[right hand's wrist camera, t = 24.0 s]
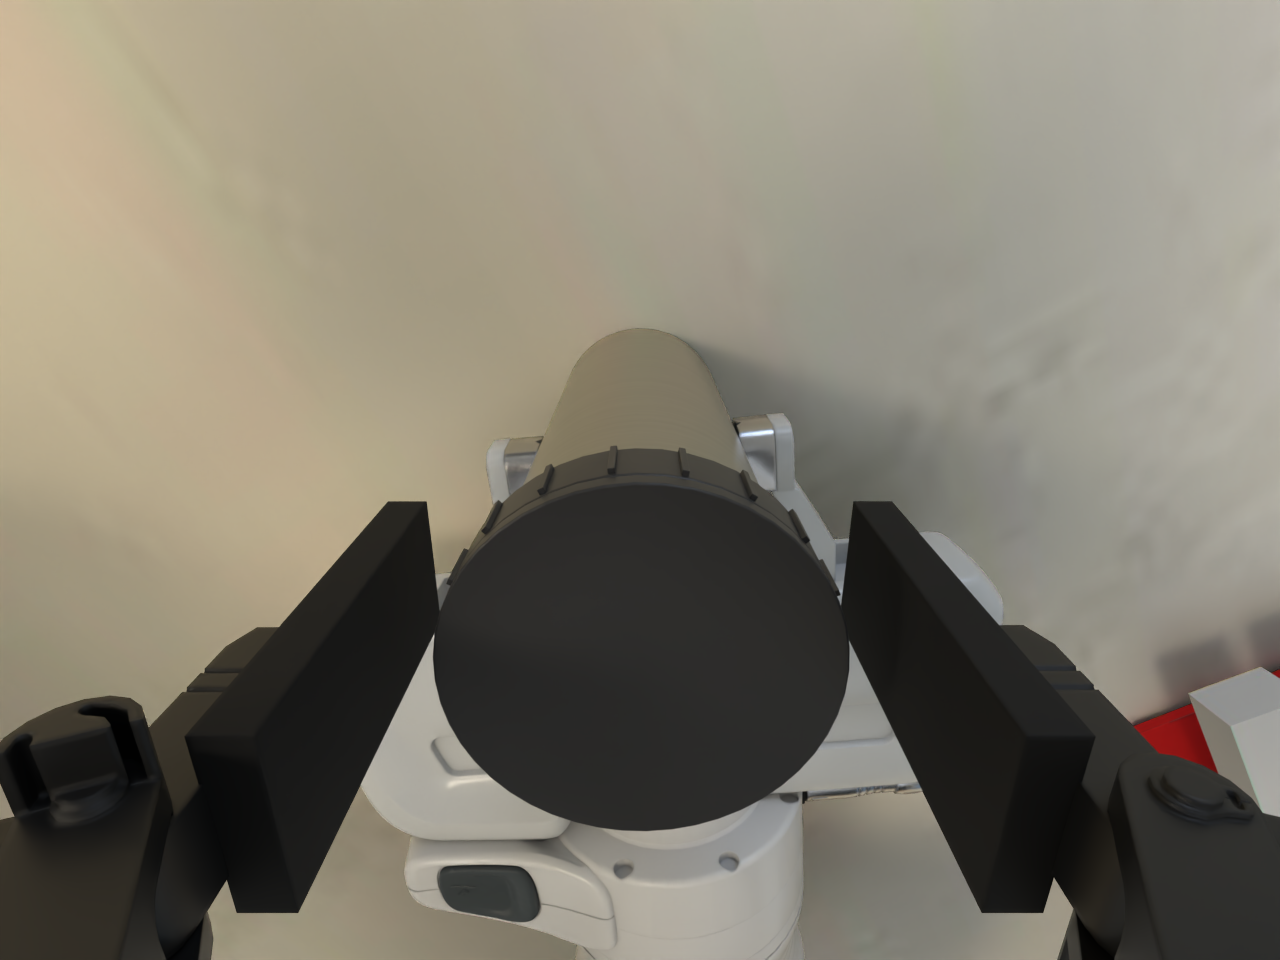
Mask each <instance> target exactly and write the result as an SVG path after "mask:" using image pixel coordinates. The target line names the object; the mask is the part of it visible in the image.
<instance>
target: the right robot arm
mask: <svg viewBox="0 0 1280 960" xmlns="http://www.w3.org/2000/svg"><path fill="white" fill-rule="evenodd" d="M841 608H842V611H843V614H844V618H845V621H846V624H847V631H848V638H849V641H850V643H851V645H852V648H853V650H854V652H855V654H856V656H857V658H858V660H859V662H860V664H861V666H862V668H863V670H864V672H865V674H866V676H867V678H868V680H869V682H870V684H871V687H872V689H873V691H874V693H875V695H876V697H877V699H878V701H879V703H880V705H881V707H882V709H883V711H884V713H885V715H886V717H887V719H888V721H889V723H890V726H891V728H892V730H893V732H894V734H895V736H896V738H897V740H898V742H899V744H900V746H901V748H902V750H903V752H904V754H905V756H906V758H907V760H908V762H909V765H910V767H911V769H912V771H913V773H914V775H915V777H916V779H917V781H918V783H919V785H920V787H921V789H922V791H923V793H924V795H925V797H926V799H927V801H928V804H929V806H930V808H931V810H932V812H933V814H934V816H935V818H936V820H937V822H938V824H939V826H940V828H941V830H942V832H943V834H944V836H945V838H946V840H947V842H948V845H949V847H950V849H951V851H952V853H953V855H954V857H955V859H956V861H957V863H958V865H959V867H960V869H961V871H962V873H963V875H964V877H965V879H966V881H967V884H968V886H969V888H970V890H971V892H972V894H973V896H974V898H975V900H976V902H977V904H978V906H979V908H980V910H981V912H982V913H1043V912H1044V908H1045V905H1046V902H1047V898H1048V895H1049V892H1050V888H1051V885H1052V882H1053V878H1055V880H1056V881H1057V883H1058V884H1059V886H1060V888H1061V889H1062V891H1063V892H1064V894H1065V896H1066V897H1067V899H1068V900H1069V902H1070V904H1071V905H1072V907H1073V908H1074V909H1073V912H1072V916H1071V919H1070V922H1069V925H1068V928H1067V931H1066V934H1065V937H1064V941H1063V944H1062V947H1061V950H1060V953H1059V956H1058V959H1057V960H1280V817H1278V816H1274V815H1269V814H1265V813H1263V812H1262V811H1261V810H1260V808H1259V807H1258V806H1257V804H1256V803H1255V801H1254V800H1253V799H1252V798H1251V797H1250V796H1249V795H1248V794H1246V793H1245V792H1244V791H1243V790H1242V789H1240V788H1239V787H1238V786H1237V785H1235V784H1234V783H1233V782H1232V781H1230V780H1229V779H1227V778H1225V777H1223V776H1221V775H1220V774H1218V773H1216V772H1214V771H1212V770H1210V769H1209V768H1207V767H1205V766H1203V765H1200V764H1198V763H1195V762H1192V761H1189V760H1186V759H1183V758H1180V757H1178V756H1174V755H1167V754H1160V753H1158V752H1157V751H1156V750H1155V749H1154V747H1153V746H1152V745H1151V744H1150V743H1149V742H1148V741H1147V740H1146V739H1145V738H1144V737H1143V736H1142V735H1141V734H1140V733H1139V732H1138V731H1137V730H1136V729H1135V728H1134V727H1133V726H1132V724H1131V723H1130V722H1129V721H1128V720H1127V719H1126V718H1125V717H1124V716H1123V715H1122V714H1121V713H1120V712H1119V711H1118V710H1117V709H1116V708H1115V707H1114V706H1113V705H1112V704H1111V703H1110V702H1109V700H1108V699H1107V698H1106V697H1105V696H1104V695H1103V694H1102V693H1101V692H1100V691H1099V690H1094V685H1093V684H1092V683H1091V682H1090V681H1089V680H1088V679H1087V678H1086V676H1085V675H1084V674H1083V673H1082V672H1081V671H1076V666H1075V665H1074V664H1073V663H1072V662H1071V661H1070V660H1069V659H1068V658H1067V657H1066V656H1065V655H1064V654H1063V652H1062V651H1061V650H1060V649H1059V648H1058V647H1057V646H1056V645H1055V644H1053V643H1052V642H1050V641H1049V640H1047V639H1045V638H1044V637H1042V636H1040V635H1039V634H1037V633H1035V632H1034V631H1032V630H1030V629H1029V628H1027V627H1025V626H1024V625H999V624H998V623H997V622H996V621H995V620H994V619H993V617H992V616H991V615H990V614H989V613H988V612H987V611H986V609H985V608H984V607H983V606H982V605H981V604H980V602H979V601H978V600H977V599H976V598H975V597H974V596H973V594H972V593H971V592H970V591H969V590H968V589H967V588H966V586H965V585H964V584H963V583H962V582H961V581H960V579H959V578H958V577H957V576H956V575H955V574H954V573H953V571H952V570H951V569H950V568H949V567H948V566H947V564H946V563H945V562H944V561H943V560H942V559H941V558H940V556H939V555H938V554H937V553H936V552H935V551H934V549H933V548H932V547H931V546H930V545H929V544H928V543H927V541H926V540H925V539H924V538H923V537H922V536H921V535H920V533H919V532H918V531H917V530H916V529H915V528H914V526H913V525H912V524H911V523H910V522H909V521H908V520H907V518H906V517H905V516H904V515H903V514H902V513H901V511H900V510H899V509H898V508H897V507H896V506H895V505H894V503H893V502H853V510H852V518H851V526H850V535H849V543H848V551H847V559H846V568H845V576H844V584H843V592H842V601H841ZM439 612H440V609H439V601H438V592H437V584H436V576H435V568H434V559H433V551H432V543H431V535H430V526H429V518H428V510H427V502H387V503H386V505H385V506H384V507H383V508H382V509H381V510H380V511H379V513H378V514H377V515H376V516H375V517H374V518H373V520H372V521H371V522H370V523H369V524H368V525H367V526H366V528H365V529H364V530H363V531H362V532H361V533H360V535H359V536H358V537H357V538H356V539H355V540H354V541H353V543H352V544H351V545H350V546H349V547H348V548H347V549H346V551H345V552H344V553H343V554H342V555H341V556H340V558H339V559H338V560H337V561H336V562H335V563H334V564H333V566H332V567H331V568H330V569H329V570H328V571H327V573H326V574H325V575H324V576H323V577H322V578H321V579H320V581H319V582H318V583H317V584H316V585H315V586H314V588H313V589H312V590H311V591H310V592H309V593H308V594H307V596H306V597H305V598H304V599H303V600H302V601H301V602H300V604H299V605H298V606H297V607H296V608H295V609H294V611H293V612H292V613H291V614H290V615H289V616H288V617H287V619H286V620H285V621H284V622H283V623H282V624H281V626H280V627H257V628H255V629H254V630H252V631H251V632H249V633H247V634H246V635H244V636H242V637H241V638H239V639H237V640H236V641H234V642H233V643H231V644H229V645H228V646H226V647H225V648H224V649H223V650H222V651H221V652H220V653H219V654H218V655H217V656H216V658H215V659H214V660H213V661H212V662H211V663H210V664H209V665H208V666H207V667H206V668H205V672H204V673H200V674H199V675H198V676H197V678H196V679H195V680H194V681H193V682H192V683H191V684H190V685H189V686H188V687H187V692H182V693H181V694H180V695H179V696H178V697H177V699H176V700H175V701H174V702H173V703H172V704H171V705H170V706H169V707H168V708H167V709H166V710H165V711H164V712H163V713H162V714H161V715H160V716H159V717H158V718H157V720H156V721H155V722H154V723H153V724H152V725H151V726H150V727H149V728H148V725H147V722H146V718H145V715H144V712H143V709H142V706H141V705H139V704H138V703H137V702H135V701H134V700H132V699H131V698H125V697H116V696H105V697H98V698H90V699H84V700H80V701H77V702H74V703H71V704H68V705H64V706H61V707H58V708H55V709H53V710H51V711H49V712H47V713H45V714H42V715H40V716H38V717H36V718H34V719H32V720H30V721H28V722H26V723H25V724H23V725H22V726H20V727H19V728H18V729H16V730H15V731H13V732H12V733H11V734H9V735H8V736H6V737H5V738H3V740H2V741H1V742H0V784H1V786H2V789H3V791H4V793H5V796H6V798H7V800H8V803H9V805H10V807H11V809H12V812H13V814H14V816H15V817H11V818H7V819H3V820H0V960H211V955H212V946H213V933H212V927H211V922H210V919H209V916H208V912H207V911H208V909H209V907H210V906H211V904H212V903H213V901H214V899H215V898H216V896H217V894H218V893H219V891H220V890H221V888H222V886H223V885H224V883H225V882H226V880H227V882H228V885H229V888H230V892H231V895H232V898H233V902H234V905H235V908H236V912H237V913H298V912H299V910H300V908H301V906H302V904H303V902H304V900H305V898H306V896H307V894H308V892H309V890H310V888H311V886H312V884H313V881H314V879H315V877H316V875H317V873H318V871H319V869H320V867H321V865H322V863H323V861H324V859H325V857H326V855H327V853H328V851H329V849H330V847H331V845H332V842H333V840H334V838H335V836H336V834H337V832H338V830H339V828H340V826H341V824H342V822H343V820H344V818H345V816H346V814H347V812H348V810H349V808H350V806H351V803H352V801H353V799H354V797H355V795H356V793H357V791H358V789H359V787H360V785H361V783H362V781H363V779H364V777H365V775H366V773H367V771H368V769H369V767H370V765H371V762H372V760H373V758H374V756H375V754H376V752H377V750H378V748H379V746H380V744H381V742H382V740H383V738H384V736H385V734H386V732H387V730H388V728H389V726H390V723H391V721H392V719H393V717H394V715H395V713H396V711H397V709H398V707H399V705H400V703H401V701H402V699H403V697H404V695H405V693H406V691H407V689H408V687H409V684H410V682H411V680H412V678H413V676H414V674H415V672H416V670H417V668H418V666H419V664H420V662H421V660H422V658H423V656H424V654H425V652H426V650H427V648H428V645H429V643H430V641H431V639H432V637H433V635H434V633H435V629H436V625H437V621H438V617H439Z"/></svg>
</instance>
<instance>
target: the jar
mask: <svg viewBox="0 0 1280 960" xmlns="http://www.w3.org/2000/svg"><path fill="white" fill-rule="evenodd" d="M610 446H617V449H618V450H621V449H632V448H644V449H664V450H671V451H677V452H678V450H679V447H680V448H685V449H686V453H689V454H692V455H696V456H699V457H702V458H706V459H709V460H713V461H715V462H717V463H720V464H722V465H724V466H727V467H729V468H731V469H733V470H736V471H738V472H739V473H741V471H742V470H745V471H747V472H748V473H749V476H750V478H751V480H752V481H754V482H756V483H757V484H758V481H757V479H756V477H755V475H754V472H753V470H752V468H751V465H750V463H749V461H748V458H747V456H746V454H745V452H744V449H743V447H742V445H741V442H740V440H739V438H738V436H737V433H736V431H735V429H734V426H733V424H732V422H731V419H730V417H729V415H728V413H727V410H726V408H725V406H724V403H723V401H722V399H721V396H720V394H719V392H718V390H717V387H716V385H715V383H714V380H713V378H712V376H711V374H710V372H709V370H708V368H707V366H706V364H705V363H704V361H703V360H702V358H701V357H700V356H699V355H698V354H697V353H696V352H695V350H694V349H692V348H691V347H690V346H689V345H688V344H686V343H685V342H683V341H682V340H680V339H678V338H677V337H674V336H672V335H670V334H668V333H664V332H661V331H657V330H651V329H630V330H624V331H620V332H617V333H614V334H611V335H609V336H607V337H605V338H603V339H601V340H599V341H598V342H597V343H595V344H594V345H593V346H591V347H590V348H589V349H588V350H587V351H586V352H585V353H584V354H583V355H582V356H581V358H580V359H579V360H578V362H577V363H576V365H575V367H574V368H573V370H572V372H571V375H570V377H569V379H568V382H567V384H566V386H565V389H564V391H563V393H562V396H561V398H560V400H559V403H558V405H557V407H556V410H555V412H554V414H553V417H552V419H551V421H550V424H549V426H548V428H547V431H546V433H545V435H544V438H543V440H542V442H541V445H540V447H539V449H538V452H537V454H536V456H535V459H534V461H533V463H532V466H531V468H530V470H529V473H528V475H527V477H526V480H525V482H524V484H526V483H527V482H529V481H530V480H532V479H533V478H535V477H536V476H538V475H540V474H542V473H543V472H544V470H545V467H546V466H547V465H549V464H552V465H553V467H556V466H558V465H560V464H563V463H565V462H568V461H571V460H574V459H577V458H580V457H582V456H586V455H591V454H596V453H600V452H605V451H610ZM524 484H523V485H524Z"/></svg>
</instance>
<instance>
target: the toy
mask: <svg viewBox="0 0 1280 960" xmlns="http://www.w3.org/2000/svg"><path fill="white" fill-rule="evenodd" d="M1188 695H1189V697H1190V700H1191V703H1192V704H1189V705H1187V706H1184V707H1181V708H1179V709H1176V710H1174V711H1171V712H1169V713H1166V714H1163V715H1161V716H1158V717H1156V718H1153V719H1151V720H1148V721H1145V722H1143V723H1140V724H1138V725H1135V726H1133V727H1134V728H1135V729H1136V730H1137V731H1138V732H1139V733H1140V734H1141V735H1142V736H1143V737H1144V738H1145V739H1146V740H1147V741H1148V742H1149V743H1150V744H1151V745H1152V746H1153V747H1154V749H1155V750H1156V751H1157V752H1158V753H1160V754H1167V755H1174V756H1178V757H1180V758H1183V759H1186V760H1189V761H1192V762H1195V763H1198V764H1200V765H1203V766H1205V767H1207V768H1209V769H1210V770H1212V771H1214V772H1216V773H1218V774H1220V775H1221V776H1223V777H1225V778H1227V779H1229V780H1230V781H1232V782H1233V783H1234V784H1235V785H1237V786H1238V787H1239V788H1240V789H1242V790H1243V791H1244V792H1245V793H1246V794H1248V795H1249V796H1250V797H1251V798H1252V799H1253V800H1254V801H1255V803H1256V804H1257V806H1258V807H1259V808H1260V810H1261V811H1262V812H1263V813H1265V814H1269V815H1274V816H1278V817H1280V669H1279V670H1277V671H1274V672H1272V673H1270V672H1269V671H1267V670H1265V669H1264V668H1262V667H1258V668H1255V669H1252V670H1250V671H1247V672H1244V673H1241V674H1239V675H1236V676H1233V677H1231V678H1228V679H1225V680H1222V681H1220V682H1217V683H1214V684H1212V685H1209V686H1206V687H1203V688H1201V689H1198V690H1195V691H1192V692H1190V693H1188Z"/></svg>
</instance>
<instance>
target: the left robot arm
mask: <svg viewBox="0 0 1280 960" xmlns="http://www.w3.org/2000/svg"><path fill="white" fill-rule="evenodd" d="M732 424H733V426H734V429H735V431H736V433H737V436H738V438H739V440H740V442H741V445H742V447H743V449H744V452H745V454H746V456H747V458H748V461H749V463H750V465H751V468H752V470H753V472H754V475H755V477H756V479H757V481H758V484H759V485H760V486H761V487H762V488H764V489H765V490H766V491H771V492H772V493H773V495H774V496H775V498H776V499H777V500H778V501H779V502H780V503H781V504H782V505H783V506H784V507H785V508H786V509H787V510H788V512H789V511H790V510H791V509H793V510H794V511H795V512H796V513H797V515H798V517H799V519H800V521H801V523H802V525H803V527H804V529H805V531H806V533H807V535H808V537H809V539H810V541H809V542H810V544H811V546H812V548H813V550H814V552H815V554H816V555H817V557H818V559H819V560H821V559H823V560H824V562H825V564H826V566H827V568H828V570H829V572H830V574H831V576H832V578H833V579H834V581H835V583H836V585H837V587H838V589H839V591H840V594H841V595H840V596H837V597H838V599H839V601H840V605H841V601H842V592H843V584H844V576H845V568H846V559H847V551H848V543H849V538H845V539H833V538H832V536H831V534H830V533H829V531H828V529H827V527H826V526H825V524H824V522H823V521H822V519H821V517H820V515H819V514H818V512H817V511H816V509H815V508H814V506H813V505H812V503H811V502H810V500H809V499H808V497H807V496H806V494H805V493H804V491H803V490H802V488H801V487H800V486H799V484H798V483H797V481H796V480H795V468H794V436H793V431H792V426H791V423H790V422H789V420H788V419H787V417H786V416H785V415H784V413H778V414H768V415H757V416H747V417H738V418H733V421H732ZM543 438H544V436H538V437H525V438H512V439H511V438H507V439H500V440H494V441H493V443H492V444H491V446H490V448H489V449H488V451H487V456H486V468H487V475H488V480H489V485H490V491H491V496H492V501H493V506H494V504H495V503H496V502H497V501H498V500H499V501H500V502H502V503H503V502H504V501H505V500H506V499H507V498H508V497H509V496H510V495H511V494H512V493H514V492H515V491H516V490H517V489H519V488H520V487H522V486H523V484H524V482H525V480H526V477H527V475H528V473H529V470H530V468H531V466H532V463H533V461H534V459H535V456H536V454H537V452H538V449H539V447H540V445H541V442H542V440H543ZM919 533H920V535H921V536H922V537H923V538H924V539H925V540H926V541H927V543H928V544H929V545H930V546H931V547H932V548H933V549H934V551H935V552H936V553H937V554H938V555H939V556H940V558H941V559H942V560H943V561H944V562H945V563H946V564H947V566H948V567H949V568H950V569H951V570H952V571H953V573H954V574H955V575H956V576H957V577H958V578H959V579H960V581H961V582H962V583H963V584H964V585H965V586H966V588H967V589H968V590H969V591H970V592H971V593H972V594H973V596H974V597H975V598H976V599H977V600H978V601H979V602H980V604H981V605H982V606H983V607H984V608H985V609H986V611H987V612H988V613H989V614H990V615H991V616H992V617H993V619H994V620H995V621H996V622H997V623H998V624H999V625H1003V616H1004V606H1003V601H1002V598H1001V596H1000V594H999V592H998V590H997V588H996V587H995V585H994V584H993V582H992V581H991V580H990V578H989V577H988V576H987V575H986V574H985V572H984V571H983V570H982V569H981V568H980V566H979V565H978V564H977V563H976V562H975V561H974V560H973V559H972V558H971V557H970V556H969V555H968V554H967V553H965V552H964V551H963V550H962V549H961V548H960V547H958V546H957V545H956V544H955V543H954V542H953V541H951V540H950V539H949V538H948V537H947V536H945V535H943V534H941V533H939V532H932V531H926V532H919ZM450 574H451V573H439V574H435V576H436V584H437V592H438V601H439V609H441V607H442V605H443V602H444V600H445V597H446V595H447V592H448V590H449V588H450V585H447V584H446V583H447V580H448V578H449V576H450ZM434 634H435V633H434ZM849 645H850V661H849V675H848V680H847V686H846V692H845V695H844V698H843V701H842V704H841V707H840V710H839V713H838V716H837V718H836V720H835V722H834V724H833V726H832V728H831V730H830V732H829V734H828V735H827V737H826V738H825V740H824V741H823V743H822V744H821V746H820V747H819V748H818V750H817V751H816V753H815V754H814V755H813V756H812V757H811V758H810V760H809V761H808V762H807V763H806V764H805V765H804V766H803V767H802V768H801V770H800V771H799V772H797V773H796V774H795V775H794V776H793V777H792V778H790V779H789V780H788V781H787V782H786V783H785V784H783V785H782V786H781V787H779V788H778V789H776V790H775V791H773V792H772V793H771V794H769V795H768V796H766V797H765V798H763V799H761V800H760V801H758V802H756V803H754V804H752V805H750V806H748V807H746V808H744V809H742V810H740V811H738V812H735V813H733V814H730V815H727V816H725V817H722V818H720V819H717V820H713V821H709V822H706V823H702V824H699V825H695V826H689V827H683V828H678V829H672V830H658V831H621V830H613V829H605V828H598V827H593V826H589V825H584V824H580V823H576V822H572V821H569V820H566V819H564V818H561V817H558V816H555V815H552V814H550V813H547V812H545V811H543V810H541V809H539V808H537V807H534V806H532V805H530V804H528V803H527V802H525V801H523V800H522V799H520V798H518V797H517V796H515V795H513V794H512V793H510V792H509V791H507V790H506V789H505V788H503V787H502V786H501V785H500V784H498V783H497V782H496V781H494V780H493V779H492V778H491V777H490V776H489V775H488V774H487V773H486V772H485V771H483V770H482V769H481V768H480V767H479V766H478V765H477V764H476V763H475V762H474V760H473V759H472V758H471V757H470V755H469V754H468V753H467V751H466V750H465V749H464V748H463V746H462V745H461V744H460V742H459V740H458V739H457V737H456V735H455V734H454V732H453V730H452V729H451V727H450V725H449V723H448V721H447V718H446V716H445V713H444V711H443V708H442V706H441V704H440V700H439V696H438V692H437V688H436V683H435V678H434V666H433V647H434V635H433V637H432V639H431V641H430V643H429V645H428V648H427V650H426V652H425V654H424V656H423V658H422V660H421V662H420V664H419V666H418V668H417V670H416V672H415V674H414V676H413V678H412V680H411V682H410V684H409V687H408V689H407V691H406V693H405V695H404V697H403V699H402V701H401V703H400V705H399V707H398V709H397V711H396V713H395V715H394V717H393V719H392V721H391V723H390V726H389V728H388V730H387V732H386V734H385V736H384V738H383V740H382V742H381V744H380V746H379V748H378V750H377V752H376V754H375V756H374V758H373V760H372V762H371V765H370V767H369V769H368V771H367V773H366V775H365V777H364V779H363V781H362V783H361V785H360V786H361V788H362V790H363V792H364V794H365V795H366V797H367V799H368V800H369V802H370V803H371V805H372V806H373V807H374V809H375V810H376V811H377V812H378V813H379V814H380V815H381V817H382V818H383V819H385V820H386V821H387V822H388V823H389V824H391V825H392V826H394V827H395V828H397V829H399V830H400V831H402V832H404V833H407V834H409V835H411V839H410V844H409V848H408V853H407V857H406V862H405V868H404V875H405V881H406V885H407V888H408V890H409V893H410V894H411V896H412V897H413V899H414V900H415V901H417V902H418V903H419V904H421V905H423V906H425V907H428V908H431V909H435V910H440V911H446V912H452V913H458V914H465V915H471V916H476V917H482V918H487V919H493V920H497V921H502V922H507V923H511V924H515V925H519V926H523V927H527V928H531V929H534V930H537V931H540V932H544V933H547V934H550V935H552V936H555V937H558V938H560V939H563V940H566V941H568V942H571V943H573V944H576V945H577V950H576V957H575V960H805V957H804V948H803V942H802V937H801V934H800V930H799V926H798V920H799V917H800V912H801V907H802V901H803V889H804V869H803V816H802V804H804V803H805V801H811V800H812V801H817V800H831V799H844V798H851V797H857V795H858V796H863V795H865V794H866V795H867V794H872V793H880V792H882V793H883V792H894V793H895V794H911V793H918V792H923V791H922V789H921V787H920V785H919V783H918V781H917V779H916V777H915V775H914V773H913V771H912V769H911V767H910V765H909V762H908V760H907V758H906V756H905V754H904V752H903V750H902V748H901V746H900V744H899V742H898V740H897V738H896V736H895V734H894V732H893V730H892V728H891V726H890V723H889V721H888V719H887V717H886V715H885V713H884V711H883V709H882V707H881V705H880V703H879V701H878V699H877V697H876V695H875V693H874V691H873V689H872V687H871V684H870V682H869V680H868V678H867V676H866V674H865V672H864V670H863V668H862V666H861V664H860V662H859V660H858V658H857V656H856V654H855V652H854V650H853V648H852V645H851V643H850V641H849Z"/></svg>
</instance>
